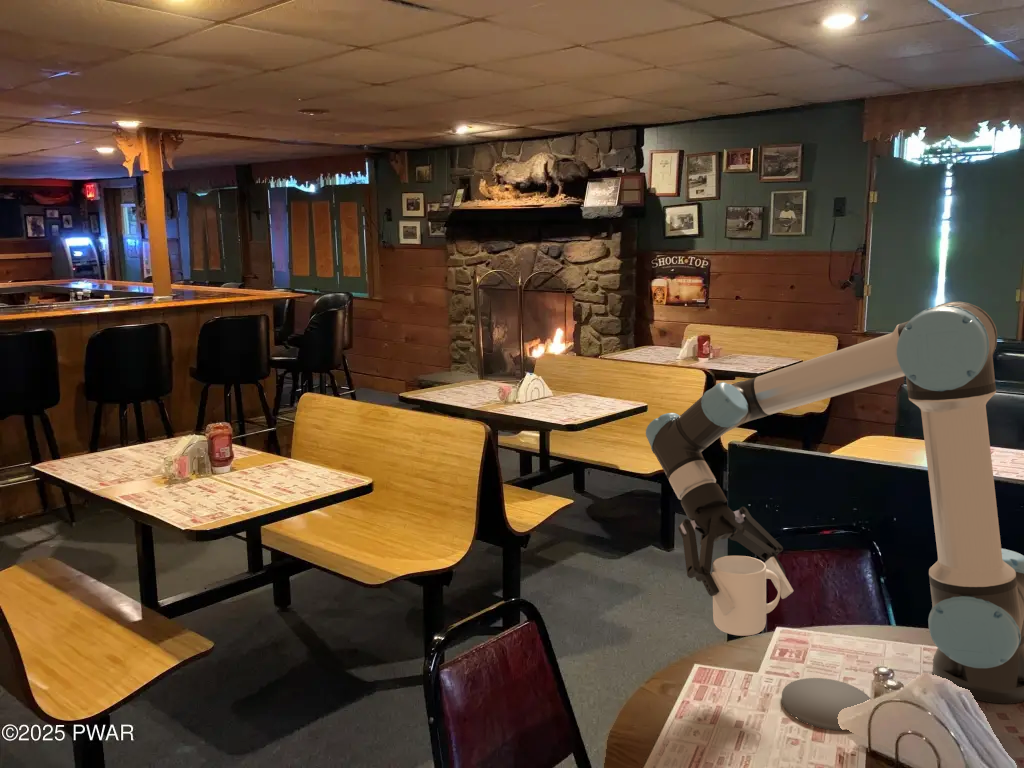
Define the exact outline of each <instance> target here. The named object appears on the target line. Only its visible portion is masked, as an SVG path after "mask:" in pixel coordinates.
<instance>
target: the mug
mask: <svg viewBox="0 0 1024 768" xmlns="http://www.w3.org/2000/svg"><path fill="white" fill-rule="evenodd" d="M711 570H712V572H716V573H717V575H718V577H719V578H720V580H721V582H722V584H723V586H724V588H725V590H726V592H727V594H728V595H729V597H730V599H731V601H732V603H733V605H734V607H735V608H734V609H733V610H732V611H731V612H730V613H729V614H728V615H725V616H723V614H722V612H721V610H720V608H719V606H718V604H717V602H716V600H715V598H714V596H712V619H713V620H712V621H713V624H714V625H715V627H716V628H717V629H719V631H721V632H724V633H725V634H729V635H733V636H740V637H742V636H743V637H744V636H753V635H756V634H757V635H758V634H759V633H760V632H762V631H764V630H765V628H766V625H767V614H769V613H771V612H773V610H774V609H775V608H776V607H777V606H778V604H779V601H780V598H781V596H780V593H781V584H780V580H779V578H778V577H777V575H776V574H775V573H773V572H772V571H770V570H768V569H766V565H765V562H764V561H762V559H758V558H755V557H751V556H748V555H747V556H746V555H725V556H720V557H718V558H716V559H714V560H712V563H711ZM712 572H711V573H712ZM768 579H769V580H771V579H772V580H774V581H775V582H776V584H777V586H778V591H777V595H776V597H775V599H774V600H772V601H770V602H769V603H767V580H768ZM772 580H771V581H772Z"/></svg>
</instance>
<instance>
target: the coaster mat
mask: <svg viewBox="0 0 1024 768" xmlns="http://www.w3.org/2000/svg"><path fill="white" fill-rule="evenodd" d="M869 699H871V700H872V698H871V697H870V696H869V695H868V694H867V693H865V692H864V691H863V690H861V689H859V688H857V687H856V686H853V685H851V684H849V683H846V682H843V681H840V680H836V679H831V678H821V677H808V678H801V679H800V678H799V679H796V680H794V681H791V682H789V683H788V684H786V686H784V688H783V689H782V692H781V703H783V704H782V706H783V705H784V706H783V708H784V707H785V708H784V709H785V711H786V710H787V711H788V712H789V713H790V714H789V713H788V712H787V711H786V712H787V713H788V714H789V715H791V714H792V715H793V716H794V717H793V716H792V715H791V716H792V717H793V718H795V717H797V718H798V719H799V720H798V719H797V720H798V721H800V720H801V721H800V722H802V721H803V722H802V723H804V722H805V723H804V724H806V723H808V724H807V725H809V724H810V725H809V726H811V725H813V726H812V727H815V726H817V727H816V728H818V727H820V728H819V729H822V728H824V729H823V730H828V729H829V730H831V731H840V732H841V731H842V729H841V728H840V726H839V724H838V719H837V717H838V714H839V712H840V711H841V710H842V709H844V708H847V707H851V706H854V705H857V704H860V703H863V702H865V701H867V700H869ZM829 730H828V731H829ZM842 732H843V731H842Z"/></svg>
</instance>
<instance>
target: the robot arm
mask: <svg viewBox="0 0 1024 768" xmlns="http://www.w3.org/2000/svg"><path fill="white" fill-rule="evenodd" d="M997 344H998V331H997V327H996V324H995V322H994V321H993V319H992V317H991V316H990V315H989V314H988V313H987V312H986V311H985V310H983V309H982V308H980V307H979V306H976V305H975V304H972V303H969V302H963V301H948V302H945V303H941V304H938V305H936V306H933V307H928V308H925V309H924V310H921V311H920V312H919V313H916V314H915V315H914V316H912V318H911V319H910V320H907V321H906V322H901V323H899V324H897V325H896V327H895V328H894V329H893V331H892V332H891V333H888V334H885V335H881V336H878V337H874V338H872V339H870V340H866V341H863V342H860V343H857V344H853V345H850V346H847V347H844V348H841V349H838V350H835V351H832V352H829V353H826V354H823V355H819V356H818V357H813V358H811V359H808V360H804V361H801V362H797V363H796V364H793V365H790V366H785V367H784V368H779V369H777V370H775V371H774V370H773V371H771V372H768V373H765V374H764V373H763V374H762V375H759V376H756V377H753V378H749V379H746V380H741V381H736V382H734V383H732V384H730V383H727V382H719V383H717V384H715V385H714V386H713V387H712V388H710V389H708V390H706V391H705V392H704V394H703V395H702V396H701V397H700V398H699V399H698V400H696V401H695V402H694V403H692V405H691V406H689V407H688V408H687V409H686V410H685V411H684V412H683V413H682V414H680V415H679V414H678V413H675V412H667V413H664V414H663V413H662V414H661V415H660V416H659V417H657V418H654V419H653V420H651V422H649V424H648V425H647V426H646V429H645V436H646V439H647V441H648V443H649V445H650V448H651V452H652V454H654V455H655V457H656V459H657V461H658V463H659V464H660V467H661V468H662V469H663V471H664V473H665V476H666V478H667V479H668V481H669V484H670V486H671V488H672V489H673V492H674V493H675V495H676V497H677V499H678V500H680V504H681V507H682V508H683V511H684V513H685V514H686V517H687V518H685V519H684V520H683V521H682V522H681V524H680V525H679V526H678V531H679V533H680V535H681V538H682V545H683V552H684V559H685V567H686V568H685V569H686V575H687V577H688V578H689V579H693V578H695V579H696V580H695V581H697V582H700V583H701V582H702V585H703V586H704V588H705V590H706V592H707V593H708V596H710V597H713V596H714V598H715V600H716V602H717V604H718V606H719V608H720V610H721V612H722V614H723V616H725V615H728V614H729V613H730V612H731V611H732V610H733V609H734V608H735V607H734V605H733V603H732V601H731V599H730V597H729V595H728V594H727V592H726V590H725V588H724V586H723V584H722V582H721V580H720V578H719V577H718V575H717V573H716V572H711V570H712V563H713V554H714V546H715V545H714V544H715V542H718V541H719V540H727V539H729V540H731V541H735V542H736V543H738V544H740V545H741V546H743V547H744V548H746V549H747V550H749V552H751V553H753V554H754V555H756V556H757V557H758V558H760V560H763V562H764V561H765V562H764V563H765V565H766V569H768V570H770V571H772V572H773V573H775V574H776V575H777V577H778V578H779V580H780V584H781V593H780V598H781V599H782V600H784V599H787V597H788V596H790V595H791V594H793V592H794V589H793V587H792V585H791V584H790V582H789V580H788V579H787V577H786V570H785V568H784V567H783V565H782V563H781V561H780V560H779V558H778V555H779V554H780V553H781V552H782V551H784V547H783V545H781V544H780V542H779V541H777V540H776V539H775V538H774V537H773V536H772V535H771V534H770V533H769V532H768V531H767V530H766V529H765V528H764V527H763V526H762V525H761V524H760V523H759V522H758V521H757V520H756V519H754V518H753V517H752V515H751V514H750V512H749V510H748V508H746V507H745V506H741V507H740V508H739V509H737V510H735V511H733V510H732V509H731V508H730V507H729V505H728V500H727V497H726V494H725V493H724V491H723V490H722V488H721V487H720V484H718V483H717V479H716V476H715V475H714V473H713V472H712V470H711V468H710V466H709V465H708V463H707V462H706V460H705V458H704V456H703V453H702V452H703V451H704V450H706V449H707V448H709V446H710V445H712V444H713V443H714V442H715V441H716V440H718V439H719V438H721V436H724V435H725V434H726V433H728V432H730V431H731V430H733V429H735V428H738V427H740V426H741V425H743V424H745V423H748V422H751V421H754V420H757V419H762V418H764V417H767V416H771V415H773V414H777V413H781V412H785V411H788V410H791V409H795V408H797V407H798V408H799V407H801V406H805V405H808V404H813V403H815V402H819V401H823V400H826V399H830V398H833V397H837V396H841V395H843V394H846V393H851V392H853V391H857V390H861V389H864V388H867V387H871V386H874V385H879V384H881V383H882V384H883V383H885V382H889V381H892V380H895V379H896V380H897V379H899V378H902V377H905V381H906V389H907V397H908V400H909V401H910V402H911V403H913V404H914V405H915V406H917V407H918V408H919V410H920V413H921V422H922V431H923V438H924V447H925V448H924V449H925V457H926V465H927V474H928V481H929V482H928V485H929V492H930V501H931V509H932V517H933V525H934V533H935V534H934V536H935V542H936V552H937V561H935V563H934V564H933V565H932V566H930V567H929V569H928V577H929V584H930V585H929V587H930V595H931V596H930V597H931V602H932V603H931V605H932V607H931V610H930V612H929V614H928V618H927V621H928V630H929V635H930V637H931V639H932V642H933V643H934V644H935V646H936V647H937V649H936V651H935V653H934V655H933V659H932V674H935V675H937V676H940V677H942V678H946V679H948V680H950V681H952V682H953V683H954V684H956V685H957V686H959V687H962V688H965V689H968V690H970V692H971V693H972V695H973V696H974V698H975V699H974V700H977V701H982V702H987V703H994V704H995V703H996V704H1017V703H1023V702H1024V555H1023V554H1021V553H1019V552H1017V551H1014V550H1010V549H1006V548H1002V544H1001V535H1000V534H1001V533H1000V525H999V524H1000V523H999V517H998V516H999V515H998V507H997V505H998V504H997V498H996V497H997V496H996V489H995V488H996V487H995V479H994V471H993V461H992V453H991V452H992V451H991V443H990V435H989V434H990V433H989V424H988V416H987V406H986V405H987V403H988V402H989V401H990V399H992V397H993V396H995V395H996V393H997V389H996V388H997V387H996V378H995V369H994V367H995V366H994V359H993V358H994V357H993V355H994V353H995V350H996V348H997ZM696 531H697V532H698V533H700V552H698V551H699V550H698V545H697V535H696ZM770 580H771V582H772V584H773V586H774V587H775V589H776V591H777V592H778V586H777V584H776V582H775V581H774V580H772V579H770Z"/></svg>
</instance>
